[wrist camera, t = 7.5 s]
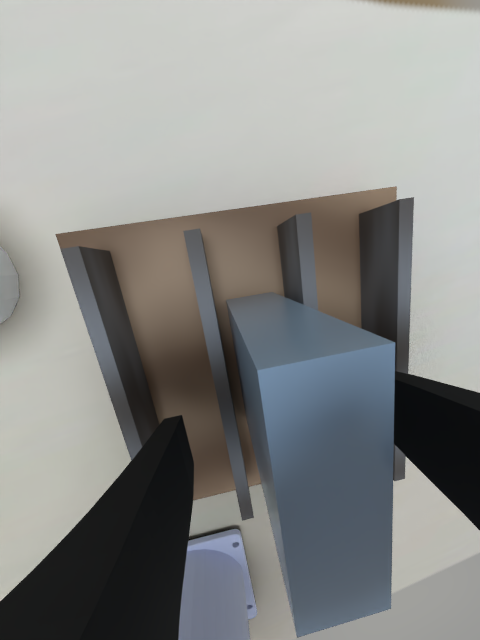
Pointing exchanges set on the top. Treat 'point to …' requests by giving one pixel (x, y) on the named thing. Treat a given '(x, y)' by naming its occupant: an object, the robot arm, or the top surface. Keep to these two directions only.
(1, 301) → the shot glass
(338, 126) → the top surface
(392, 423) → the block
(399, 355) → the rack
